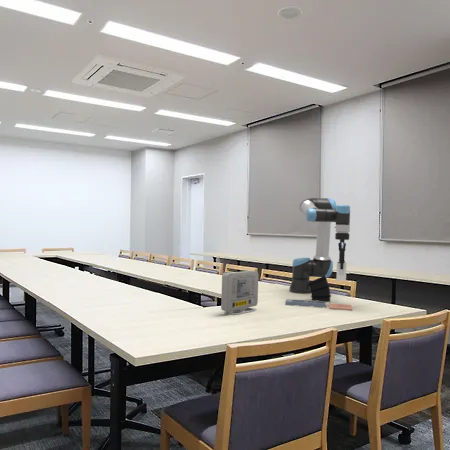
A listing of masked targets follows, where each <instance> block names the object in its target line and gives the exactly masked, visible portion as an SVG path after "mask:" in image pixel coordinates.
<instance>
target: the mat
mask: <svg viewBox="0 0 450 450" xmlns="http://www.w3.org/2000/svg"><path fill="white" fill-rule="evenodd" d="M328 303H329V304H328V309H329V310H340V311H353V306H352V304H347V303H346V304H345V303H333V302H331V303H330V302H328Z"/></svg>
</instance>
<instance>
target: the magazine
mask: <svg viewBox="0 0 450 450" xmlns="http://www.w3.org/2000/svg"><path fill="white" fill-rule="evenodd" d="M327 279H328V277H325V276H323V277H317V278H316V279H313V280H310V282H308V286H310V289H311V291H310V292H311V293H310V294H311V296H310V298H311V301H316V300H318V301H322V302H327V301H329V302H331V296H332V295H331V289H330V285H329V282H328V280H327Z"/></svg>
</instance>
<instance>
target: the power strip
mask: <svg viewBox="0 0 450 450" xmlns="http://www.w3.org/2000/svg"><path fill="white" fill-rule="evenodd" d="M326 302H327V301H316V300H307V299H305V300H304V299H290V298H288V299H285V303H284V304H285V306H294V305H299V306H298V307H309V306H314V307H313V308H323V307H325V308H326V305H327V304H326Z"/></svg>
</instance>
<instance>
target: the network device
mask: <svg viewBox="0 0 450 450" xmlns="http://www.w3.org/2000/svg"><path fill="white" fill-rule="evenodd" d="M220 297H221V302H220V303H221V305H220V309H221V311H223V313H224V314H226V315H232V316H240V315H245V314H250V313H252V312H256V310H257V309H256V308H253V307H256V306H257V305H258V302H259V301H258V299H259V298H258V297H259V271H257V270H244V271H234V272H223V274H222V276H221V296H220ZM233 312H236V313H233Z"/></svg>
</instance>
